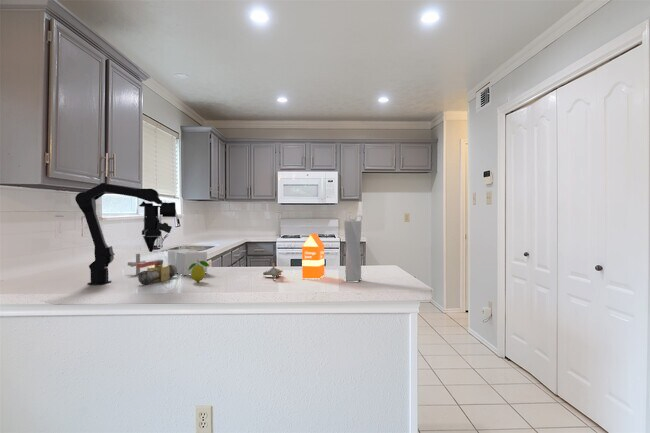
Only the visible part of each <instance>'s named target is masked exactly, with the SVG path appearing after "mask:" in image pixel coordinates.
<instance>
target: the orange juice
mask: <svg viewBox="0 0 650 433" xmlns="http://www.w3.org/2000/svg"><path fill="white" fill-rule="evenodd" d="M301 255H302V257H301V258H302V259H301V263H302V264H301V266H302V268H301V269H302V270H301V271H302V275H301V276H302V278H320V277H321V276H323V275H324V276H325V244H324V243H323V241H322V240H321V237H319V235H318V233H310V235H309V236H308V238H307V239H306V240H305V242H304V244H303V245H302V246H301Z"/></svg>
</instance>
